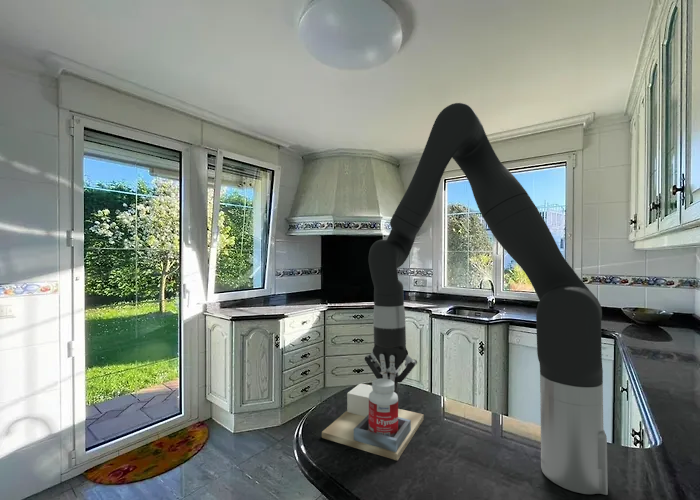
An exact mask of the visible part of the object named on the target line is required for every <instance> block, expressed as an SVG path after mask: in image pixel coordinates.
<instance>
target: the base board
mask: <svg viewBox="0 0 700 500" xmlns="http://www.w3.org/2000/svg"><path fill="white" fill-rule="evenodd" d="M424 416H425V415H424V414H422V413H419V412H415V411H410V410H405V409H402V408H401V409H400V408H398V432H397V434H396V435H395V436H394V438H393V437H389V436H386V435H382V434H378V433H374V432H371V431H369V414H368V415H367V416H366V417H365V416H361V415H357V414H353V413H349V412H347V410H346V411H345V412H343V414H340V416H339V417H337V418H336V419H335V420H334V421H333V422H331V423H330V424H329V425H328V426H327V427H326V428H324V429H323V430H322V431H321V438H322V439H325V440H327V441H331V442H335V443H338V444H341V445H345V446H347V447H351V448H354V449H358V450H361V451H365V452H368V453H371V454H373V455H378V456H381V457H384V458H388V459H391V460H394V461H399V459H400V457H401V456H402V455H403V452H404V451H405V449H406V448H407V446H408V445H409V443H410V442H411V440H412V439H413V437H414V436H415V434H416V432H417V431H418V429H419V428H420V426H421V425H422V423H423V421H424Z"/></svg>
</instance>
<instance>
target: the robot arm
mask: <svg viewBox="0 0 700 500" xmlns="http://www.w3.org/2000/svg"><path fill="white" fill-rule="evenodd" d="M452 159H453V161H455V163H456V164H457V165H458V167H459V168H460V170H461V171H462V173H463V174H464V176H465V177H466V178H467V181H468V183H469V185H470V189H471V191H472V194H473V198H474V200H475V203H476V206H477V208H478V210H479V212H480V214H481V216H482V218H483V220H484V222H485V223H486V225H487V226H488V228H489V230H490V233H492V236H494V238H495V239H496V242H498V243H499V244H500V246H501V247H502V248H503V249H504V251H505V252H506V253H507V254H508V255H509V256H510V257H511V258H512V259H513V261H515V262H516V263H517V265H518V266H519V267H520V268H521V270H522V271H523V272H524V274H525V275H526V277H527V278H528V280H529V281H530V284H531V285H532V287H533V290H534V291H535V294H536V296H537V298H538V299H539V301H538V303H537V306H536V313H535V316H536V317H535V323H536V324H535V325H536V326H535V327H536V350H537V351H536V353H537V354H536V355H537V360H538V362H539V385H540V386H539V388H540V389H539V391H540V392H539V394H540V395H539V396H540V397H539V399H540V401H539V403H540V407H539V408H540V467H541V471H542V473H543V475H544V476H545V477H546V478H547V479H548V480H550V481H551V482H552V483H554V484H556V485H557V486H559V487H561V488H563V489H565V490H568V491H571V492H574V493H579V494H583V495H595V494H597V495H598V494H601V495H605V496H607V495H609V492H608V486H609V485H608V483H609V482H608V443H607V442H608V438H607V433H606V432H605V429H604V428H605V427H604V387H603V386H604V384H603V383H604V382H603V381H604V376H603V373H604V370H603V357H602V353H603V352H602V350H603V349H602V317H603V309H602V306H601V303H600V301H599V299H598V298H597V297H596V295H595V294H594V293H593V292H592V291H591V290H590V289H589V287H587V285H586V284H585V283H584V282H583V280H582V279H581V278H580V277H579V275H578V274H577V273H576V271H575V270H574V269H573V267H571V265H570V264H569V263H568V261H567V260H566V258H565V257H564V255H563V254H562V252H561V250H560V249H559V247H558V245H557V244H558V243H557V242H556V239H555V238H554V236H553V234H552V232H551V230H550V228H549V226H548V224H547V223H546V221H545V219H544V218H543V216H542V215H541V213H540V211H539V209H538V207H537V206H536V204H535V203H534V201H533V200H532V198H531V196H530V195H529V194H528V192H527V190H526V189H525V188H524V186H523V184H521V183H520V182H519V180H518V179H517V178H516V177H515V176H514V174H512V172H510V170H509V169H508V168H507V167H506V166H505V165H504V164H503V163H502V162H501V160H500V159H499V157H498V156H497V154H496V152H495V150H494V149H493V146H492V144H491V143H490V140H489V137H488V136H487V133H486V131H485V128H484V125H483V123H482V122H481V120H480V119H479V117H478V115H477V113H476V112H475V111H474V109H473V108H472V107H471V106H470V105H469V104H466V103H463V102H455V103H451V104H450V105H446V106H445V107H444V108H443V109H442V110H440V112H439V113H438V115H437V117H436V118H435V120H434V123H433V124H432V127H431V130H430V133H429V135H428V138H427V141H426V144H425V146H424V149H423V152H422V154H421V156H420V158H419V161H418V164H417V167H416V168H415V172H414V173H413V176H412V178H411V180H410V183H409V184H408V186H407V188H406V191H405V193H404V195H403V197H402V198H401V200H400V202H399V204H398V206H397V207H396V209H395V210H394V213H393V215H392V216H391V219H390V222H389V225H390V228H391V230H390V231H389V234H388V236H387V238H386V239H379V240H376V241H375V242H373V243H372V245H371V246H370V248H369V253H368V258H367V259H368V265H369V266H368V268H369V271H370V276H371V280H372V284H373V288H374V289H373V303H374V305H373V314H372V315H373V319H372V324H373V344H374V346H373V348H372V352H371V353H369V354H367V355H366V356H365V357H364V361H365V363H366V364H367V366H368V367H369V368H370V371H371V372H372V373H373V374H374V376H375V377H376V379H380V378H384V379H390V380H392V381H393V382H394V389H395V390H394V392H395V393H396V394H397V395H399V393H398V392H399V391H398V389H399V387H398V386H399V384H398V383H402V382H403V381H405V379H406V378H407V376H409V374H410V373H411V371H412V370H413V369H414V368H415V366H416V365H417V364H418V361H417V359H414V358H412V357H411V356H410V355H409V352H408V350H407V337H406V335H407V333H406V332H407V331H406V328H407V327H406V311H405V300H404V299H405V298H404V296H405V294H404V284H403V283H402V281H400V280H399V276H398V268H400V267H402V266H403V265H404V263H405V262H406V261H407V260H408V257H409V256H410V253H411V250H412V248H413V245H414V242H415V239H416V237H417V234H418V232H419V231H420V230H421V228H422V226H423V225H424V223H425V221H426V219H427V218H428V216H429V215H430V212H431V210H432V208H433V206H434V203H435V200H436V196H437V193H438V190H439V186H440V184H441V180H442V178H443V175H444V173H445V171H446V169H447V166H448V165H449V163H450V161H451V160H452ZM404 362H405V363H404ZM403 363H404V366H405V368H404V369H403V371H401V373H400V374H399V372H400V367H401V366H402V365H403Z"/></svg>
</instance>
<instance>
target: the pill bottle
mask: <svg viewBox="0 0 700 500" xmlns="http://www.w3.org/2000/svg"><path fill="white" fill-rule="evenodd" d="M371 386H372V389H373V391H371V393H370V394H369V431H371V432H374V433H378V434H382V435H386V436H389V437H393V438H394V436H395V435H396V434H397V432H398V409H399V396H398V394H396V393H395V392H394V390H395V389H394V382H393V381H392V380H390V379H384V378H380V379H377V378H376V379H373V380H372V381H371Z"/></svg>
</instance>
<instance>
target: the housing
mask: <svg viewBox="0 0 700 500" xmlns="http://www.w3.org/2000/svg"><path fill="white" fill-rule="evenodd" d="M371 391H373V389H372V384H371V385H369V384H365V383H359V384H357V385H356V386H355V387H353V388H351V390H349V391H348V392H347V394H346V398H347V399H346V400H347V403H346V405H347V406H346V407H347V409H346V411H347V412H349V413H353V414H357V415H361V416H365V417H366V416H367V415H368V414H369V394H370V393H371Z"/></svg>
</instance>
